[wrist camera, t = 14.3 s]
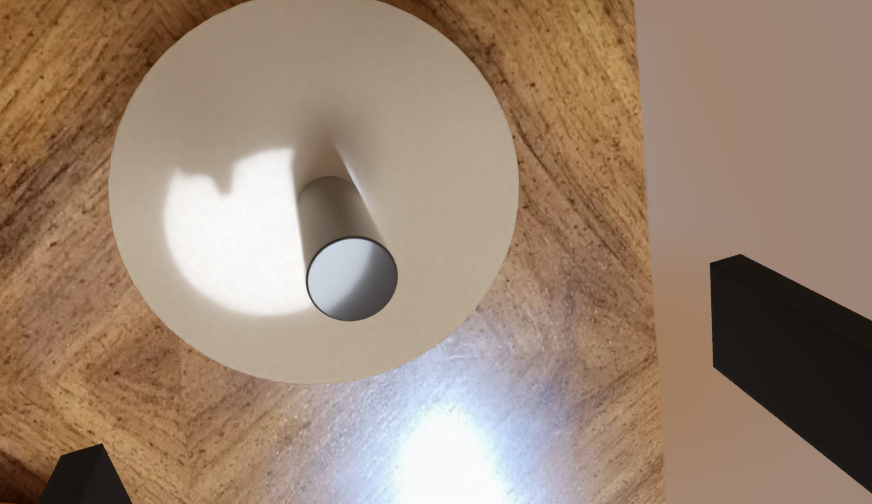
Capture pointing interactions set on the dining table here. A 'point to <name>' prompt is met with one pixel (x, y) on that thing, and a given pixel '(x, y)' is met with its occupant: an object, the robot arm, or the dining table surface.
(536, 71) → the dining table surface
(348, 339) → the lid
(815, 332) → the robot arm
